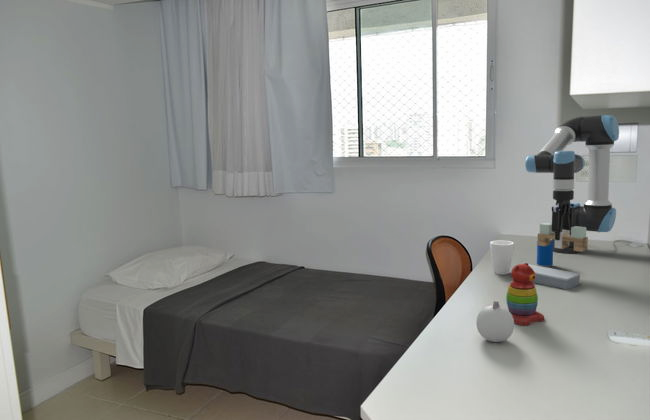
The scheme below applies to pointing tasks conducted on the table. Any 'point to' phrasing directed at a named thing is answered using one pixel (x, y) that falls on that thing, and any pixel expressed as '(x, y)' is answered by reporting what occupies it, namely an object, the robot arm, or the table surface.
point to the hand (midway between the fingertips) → (561, 246)
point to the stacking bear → (523, 296)
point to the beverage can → (545, 255)
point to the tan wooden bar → (564, 241)
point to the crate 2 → (578, 232)
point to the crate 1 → (546, 228)
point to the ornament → (495, 323)
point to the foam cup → (501, 256)
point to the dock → (555, 277)
